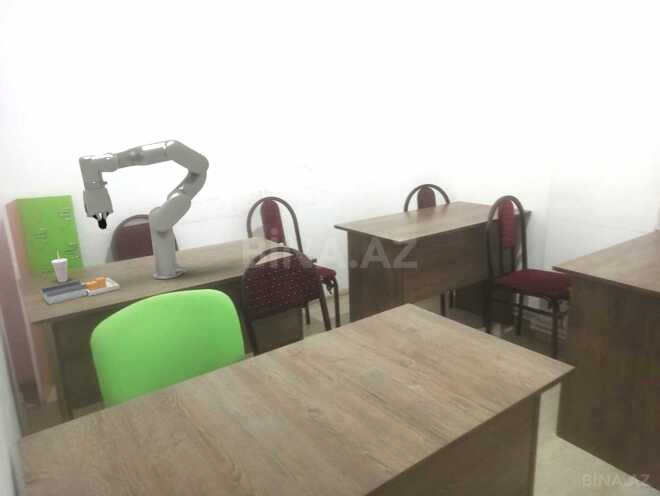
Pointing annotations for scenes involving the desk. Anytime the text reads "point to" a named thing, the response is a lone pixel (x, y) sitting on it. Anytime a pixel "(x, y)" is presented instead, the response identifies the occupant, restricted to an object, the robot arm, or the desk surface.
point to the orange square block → (101, 282)
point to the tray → (109, 287)
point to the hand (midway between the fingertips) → (103, 228)
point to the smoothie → (60, 269)
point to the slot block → (64, 292)
